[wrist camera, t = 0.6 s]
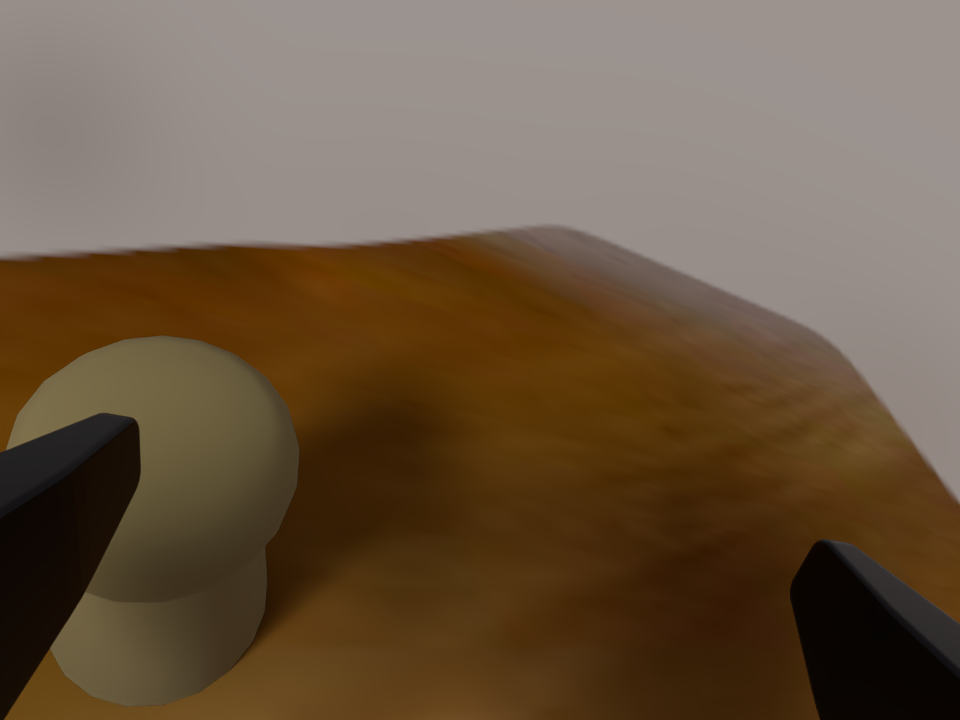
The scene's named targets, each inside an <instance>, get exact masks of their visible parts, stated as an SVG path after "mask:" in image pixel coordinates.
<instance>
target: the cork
mask: <svg viewBox="0 0 960 720" xmlns="http://www.w3.org/2000/svg"><path fill="white" fill-rule="evenodd" d="M99 413H111V414H116V415H122V416H128V417H132V418H134V419H135V420H136V421H137V422H138V425H139V429H140V455H141V475H140V480H139V484H138V487H137V489H136V492H135V494H134V496H133V498H132V500H131V502H130V504H129V506H128V508H127V510H126V512H125V514H124V516H123V518H122V520H121V522H120V524H119V526H118V528H117V530H116V532H115V534H114V536H113V538H112V540H111V542H110V544H109V546H108V548H107V550H106V552H105V554H104V556H103V558H102V560H101V562H100V564H99V566H98V568H97V570H96V572H95V574H94V576H93V578H92V580H91V582H90V584H89V586H88V588H87V590H86V591H85V593H84V595H83V597H82V599H81V600H80V602H79V603H78V605H77V607H76V608H75V610H74V612H73V613H72V615H71V616H70V618H69V620H68V621H67V623H66V624H65V626H64V627H63V629H62V630H61V632H60V633H59V635H58V637H57V638H56V640H55V641H54V643H53V644H52V646H51V647H50V649H51V651H52V653H53V655H54V657H55V659H56V660H57V662H58V664H59V666H60V668H61V670H62V671H63V673H64V675H65V676H66V677H68V678H69V679H70V680H71V681H73V682H74V683H75V684H77V685H78V686H79V687H80V688H82V689H83V690H84V691H85V692H87V693H88V694H89V695H91V696H92V697H96V698H99V699H102V700H106V701H109V702H112V703H116V704H119V705H122V706H126V707H128V706H150V705H165V704H168V703H170V702H173V701H176V700H179V699H182V698H184V697H187V696H190V695H193V694H196V693H198V692H200V691H202V690H203V689H205V688H206V687H207V686H209V685H210V684H212V683H213V682H214V681H216V680H217V679H219V678H220V677H221V676H223V675H224V674H226V673H227V672H228V671H230V670H231V668H232V667H233V666H234V665H235V663H236V662H237V661H238V660H239V658H240V657H241V656H242V655H243V653H244V652H245V651H246V650H247V648H248V647H249V646H250V645H251V643H252V642H253V640H254V637H255V635H256V632H257V630H258V627H259V625H260V622H261V620H262V618H263V615H264V613H265V604H266V592H267V566H266V550H265V546H266V545H267V544H268V542H269V541H270V540H271V539H272V538H273V537H274V536H275V534H276V533H277V532H278V530H279V528H280V525H281V523H282V521H283V518H284V516H285V514H286V511H287V509H288V507H289V504H290V502H291V500H292V497H293V495H294V492H295V490H296V488H297V481H298V465H299V446H298V441H297V437H296V433H295V430H294V427H293V423H292V420H291V417H290V413H289V410H288V407H287V405H286V404H285V402H284V401H283V399H282V398H281V397H280V395H279V394H278V392H277V391H276V390H275V388H274V387H273V386H272V384H271V383H270V381H269V380H268V379H267V378H266V377H265V376H264V375H262V374H261V373H260V372H258V371H257V370H256V369H254V368H253V367H252V366H250V365H249V364H248V363H246V362H245V361H243V360H242V359H241V358H239V357H238V356H236V355H235V354H233V353H231V352H228V351H225V350H223V349H220V348H218V347H215V346H213V345H210V344H208V343H205V342H202V341H200V340H193V339H185V338H177V337H169V336H155V337H145V338H136V339H126V340H122V341H119V342H116V343H114V344H111V345H108V346H105V347H102V348H100V349H97V350H94V351H91V352H88V353H86V354H84V355H82V356H80V357H79V358H77V359H76V360H74V361H73V362H72V363H70V364H69V365H67V366H66V367H64V368H63V369H61V370H60V371H58V372H57V373H56V374H54V375H53V376H51V377H50V378H48V379H47V380H45V381H44V382H43V383H42V385H41V386H40V387H39V388H38V390H37V391H36V392H35V393H34V395H33V396H32V397H31V398H30V400H29V401H28V402H27V404H26V405H25V406H24V407H23V409H22V410H21V411H20V412H19V414H18V415H17V418H16V421H15V424H14V427H13V430H12V433H11V436H10V439H9V442H8V445H7V449H6V450H8V449H10V448H13V447H15V446H18V445H21V444H23V443H26V442H28V441H31V440H33V439H36V438H38V437H41V436H43V435H46V434H48V433H51V432H53V431H56V430H58V429H61V428H63V427H66V426H68V425H71V424H73V423H76V422H78V421H81V420H83V419H86V418H89V417H91V416H94V415H96V414H99Z"/></svg>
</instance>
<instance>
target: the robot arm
mask: <svg viewBox="0 0 960 720" xmlns="http://www.w3.org/2000/svg"><path fill="white" fill-rule="evenodd" d="M140 475H141V455H140V429H139V425H138V422H137V421H136V420H135V419H134V418H132V417H128V416H122V415H116V414H111V413H99V414H96V415H94V416H91V417H89V418H86V419H83V420H81V421H78V422H76V423H73V424H71V425H68V426H66V427H63V428H61V429H58V430H56V431H53V432H51V433H48V434H46V435H43V436H41V437H38V438H36V439H33V440H31V441H28V442H26V443H23V444H21V445H18V446H15V447H13V448H10V449H8V450H5V451H3V452H0V720H4V719H5V717H6V716H7V714H8V713H9V711H10V709H11V708H12V706H13V705H14V703H15V702H16V700H17V699H18V697H19V695H20V694H21V692H22V691H23V689H24V688H25V686H26V685H27V683H28V682H29V680H30V678H31V677H32V675H33V674H34V672H35V671H36V669H37V668H38V666H39V664H40V663H41V661H42V660H43V658H44V657H45V655H46V654H47V652H48V651H49V649H50V647H51V646H52V644H53V643H54V641H55V640H56V638H57V637H58V635H59V633H60V632H61V630H62V629H63V627H64V626H65V624H66V623H67V621H68V620H69V618H70V616H71V615H72V613H73V612H74V610H75V608H76V607H77V605H78V603H79V602H80V600H81V599H82V597H83V595H84V593H85V591H86V590H87V588H88V586H89V584H90V582H91V580H92V578H93V576H94V574H95V572H96V570H97V568H98V566H99V564H100V562H101V560H102V558H103V556H104V554H105V552H106V550H107V548H108V546H109V544H110V542H111V540H112V538H113V536H114V534H115V532H116V530H117V528H118V526H119V524H120V522H121V520H122V518H123V516H124V514H125V512H126V510H127V508H128V506H129V504H130V502H131V500H132V498H133V496H134V494H135V492H136V489H137V487H138V484H139V480H140ZM790 599H791V604H792V608H793V613H794V617H795V621H796V625H797V630H798V634H799V638H800V642H801V647H802V651H803V655H804V659H805V664H806V668H807V672H808V676H809V681H810V685H811V689H812V693H813V697H814V701H815V704H816V708H817V711H818V714H819V718H820V720H960V624H959V623H958V622H956V621H955V620H954V619H952V618H951V617H950V616H948V615H947V614H946V613H944V612H943V611H942V610H940V609H939V608H938V607H936V606H935V605H934V604H932V603H931V602H929V601H928V600H927V599H925V598H924V597H923V596H921V595H920V594H919V593H917V592H916V591H915V590H913V589H912V588H911V587H909V586H908V585H907V584H905V583H904V582H902V581H901V580H900V579H898V578H897V577H896V576H894V575H893V574H892V573H890V572H889V571H888V570H886V569H885V568H884V567H882V566H881V565H880V564H878V563H877V562H875V561H874V560H873V559H871V558H870V557H869V556H867V555H866V554H865V553H863V552H862V551H861V550H859V549H858V548H857V547H855V546H854V545H852V544H849V543H845V542H840V541H834V540H828V539H822V540H819V541H817V542H816V543H814V545H813V546H812V548H811V549H810V551H809V553H808V554H807V556H806V558H805V560H804V561H803V563H802V565H801V567H800V568H799V570H798V572H797V573H796V575H795V577H794V579H793V581H792V584H791V588H790Z"/></svg>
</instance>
